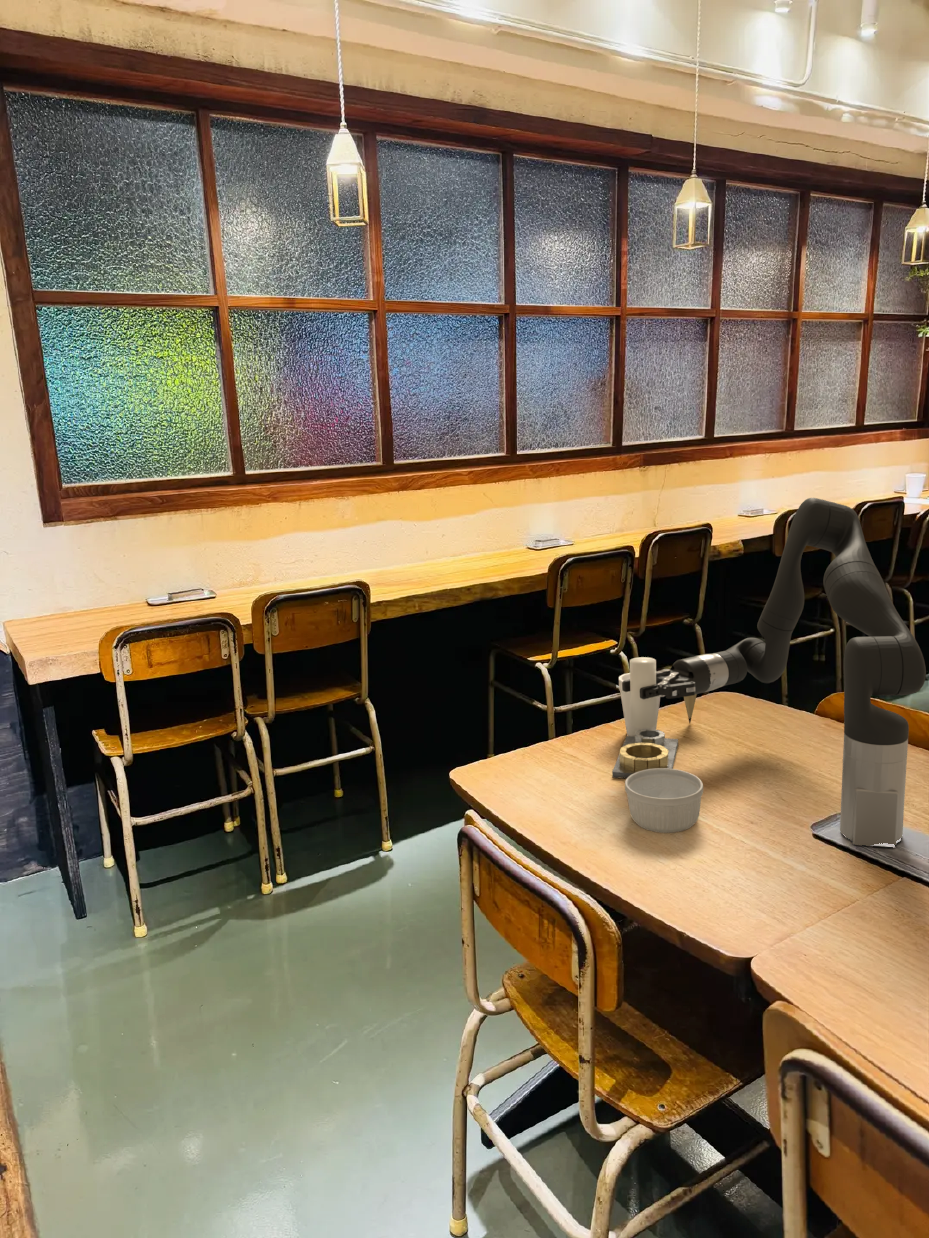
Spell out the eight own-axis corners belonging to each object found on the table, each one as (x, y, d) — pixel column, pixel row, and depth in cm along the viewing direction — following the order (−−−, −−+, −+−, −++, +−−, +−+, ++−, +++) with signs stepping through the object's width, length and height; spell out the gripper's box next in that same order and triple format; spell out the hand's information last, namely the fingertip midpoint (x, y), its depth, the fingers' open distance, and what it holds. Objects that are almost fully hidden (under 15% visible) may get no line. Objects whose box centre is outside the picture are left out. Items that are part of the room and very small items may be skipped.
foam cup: (631, 724, 195) (630, 670, 192) (669, 730, 189) (668, 674, 187) (612, 737, 187) (611, 681, 184) (651, 744, 182) (651, 686, 179)
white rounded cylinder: (655, 728, 164) (654, 664, 162) (629, 727, 166) (628, 663, 163) (657, 719, 169) (657, 657, 166) (632, 718, 171) (631, 656, 168)
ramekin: (618, 831, 144) (617, 794, 143) (633, 799, 156) (632, 764, 155) (698, 841, 139) (698, 802, 138) (707, 807, 151) (707, 771, 150)
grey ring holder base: (669, 781, 163) (669, 763, 162) (612, 777, 166) (612, 759, 165) (678, 744, 181) (678, 727, 180) (626, 741, 185) (626, 725, 184)
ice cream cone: (671, 722, 194) (671, 660, 191) (691, 718, 196) (691, 656, 193) (688, 730, 189) (687, 665, 185) (708, 725, 191) (708, 661, 188)
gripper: (676, 649, 177) (609, 663, 170) (724, 664, 165) (655, 680, 158) (676, 683, 179) (610, 699, 172) (724, 700, 166) (655, 718, 159)
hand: (632, 690), depth 165 cm, fingers closed on white rounded cylinder, 5 cm apart
